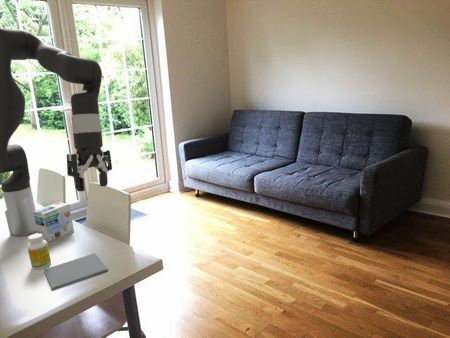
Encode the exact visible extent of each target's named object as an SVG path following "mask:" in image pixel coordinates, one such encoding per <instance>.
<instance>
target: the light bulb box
mask: <svg viewBox="0 0 450 338" xmlns="http://www.w3.org/2000/svg"><path fill="white" fill-rule="evenodd" d="M33 213H34V218H35V223H36V227H37V231H36V232H37V234H38V233H41V234H42V235H43V240H45V241H46V242H47V243H49V242H52V241H54V240H56V239H59V238H61V237H63V236H66V235H68V234H71V233H73V232H74V231H75V228H74V223H73V218H72V213H71V207H70V203H66V202H65V203H64V202H60V201H57V202H55V203H53V204H49V205H46V206H44V207H41V208H39V209H36V210H35V211H33Z"/></svg>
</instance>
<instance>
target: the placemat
mask: <svg viewBox="0 0 450 338" xmlns="http://www.w3.org/2000/svg"><path fill="white" fill-rule="evenodd" d="M108 271H109V270H108V268H107V266H106V265H105V263H104V262H103V261H102V260H101V259H100V257H99V256H98V255H97V254H96V253H95V252H94V253H91V254H87V255H85V256H81V257H78V258H75V259H72V260H70V261H66V262H62V263H60V264H57V265H54V266H51V267H46V268H43V272H44V274H45V276H46V278H47V281H48V283H49V286H50V287H51V290H52V291H53V290H56V289H59V288H62V287H64V286H67V285H70V284H73V283H74V284H75V283H77V282H79V281H81V280H85V279H87V278H91V277H94V276H96V275H99V274H103V273H105V272H108Z"/></svg>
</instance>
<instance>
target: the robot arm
mask: <svg viewBox="0 0 450 338" xmlns="http://www.w3.org/2000/svg"><path fill="white" fill-rule="evenodd" d="M26 60H27V61H28V60H36V61H37V62H38V64H39V65H40V66H41V67H42V68H43V69H45V70H46V71H49V72H52V73H53V74H56V75H58V76H59V77H60V78H61V79H62V80H63V81H65V82H68V83H72V84H75V85H77V84H79V85H82V86H83V87H82V90H81V91H80V92H75V93H73V94H72V95H71V98H70V104H71V113H72V114H71V117H72V119H71V121H72V122H71V125H72V126H71V127H72V137H73V146H74V149H76V152H75V153H68V154H67V153H66V169H67V176H68V177H72V178H74V184H75V185H74V186H75V189H76V191H77V192H84V191H85V179H84V175H85V173H86V171H88V169H90V168H91V169H92V168H95V169H96V170H97V171H98V173H99V174H98V178H99V179H98V181H99V186H100V187H107V186H108V183H109V182H108V181H109V180H108V173H109V171H112V169H113V166H112V165H113V164H112V156H111V151H110V150H109V149H108V150H107V149H106V150H102V147H103V145H104V143H103V133H102V132H103V131H102V123H101V117H100V109H99V95H100V91H101V85H102V78H103V73H102V72H103V71H102V68H101V66H100V64H99V63H98V62H97V61H96V60H94V59H93V58H85V57H80V56H79V57H78V56H74V55H73V54H71V53H70V52H68V51H67V50H64V49H62V48H59V47H56V46H53V45H50V44H49V43H46V42H45V41H44V40H42V39H40V38H39V37H38V36H36V35H34V34H33V33H32V32H30V31H28V30H25V29H20V28H6V27H4V28H3V27H0V174H7V173H10V172H12V173H11V175H10V176H9V177H8V178H6V179H5V180H4V181H3V182H1V186H0V187H1V190H2V195H3V200H4V203H5V207H6V210H5V211H4V214H5V218H6V223H7V226H8V227H7V228H8V231H9V235H10V236H14V237H22V236H27V235H32V234H35V233H36V232H37V227H36V223H35V218H34V213H33V211H35V210H37V209H36V205H35V201H34V196H33V192H32V187H31V182H30V181H31V176H30V175H31V174H30V171H29V165H28V164H29V163H28V157H27V154H26V151H25V150H24V147H23V146H22V145H20V144H10V145H9V143H10V140H11V138H12V136H13V135H14V133H15V132H16V130H17V129H18V128H19V126H20V125H21V123H22V122H23V120H24V117H25V112H26V111H25V110H26V97H25V95H24V93H23V91H22V90H21V88H20V86H19V85H18V84H17V82H16V81H15V79H14V77H13V75H12V64H11V63H12V61H26Z"/></svg>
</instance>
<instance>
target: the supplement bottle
mask: <svg viewBox="0 0 450 338" xmlns="http://www.w3.org/2000/svg"><path fill="white" fill-rule="evenodd" d="M27 240H28V244H27V252H28V258H29V261H30V265H31V268H32V269H33V270H39V269H46V268H48V266H49V265H51V263H52V261H51V255H50V251H49V246H48V245H49V244H48V241H45V240H43V235H42V234H41V233H38V232H37V233H32V234H30V235H29V236H28V237H27Z"/></svg>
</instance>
